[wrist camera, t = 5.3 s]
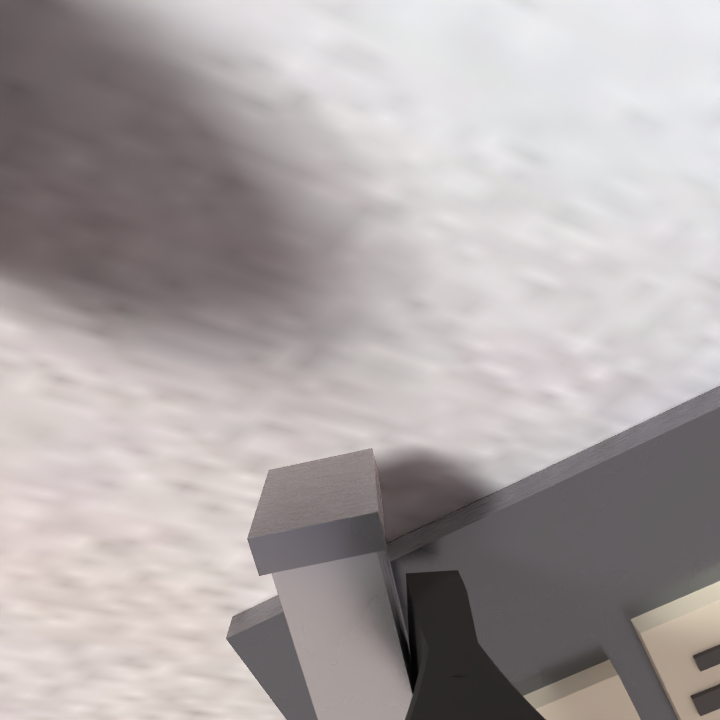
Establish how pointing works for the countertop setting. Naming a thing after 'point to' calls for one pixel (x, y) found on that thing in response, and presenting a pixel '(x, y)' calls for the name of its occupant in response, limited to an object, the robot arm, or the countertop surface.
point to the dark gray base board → (557, 562)
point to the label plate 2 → (686, 651)
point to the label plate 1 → (585, 697)
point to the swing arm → (336, 585)
